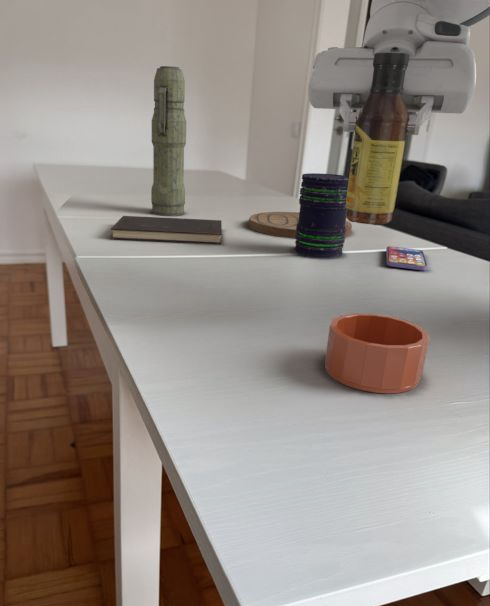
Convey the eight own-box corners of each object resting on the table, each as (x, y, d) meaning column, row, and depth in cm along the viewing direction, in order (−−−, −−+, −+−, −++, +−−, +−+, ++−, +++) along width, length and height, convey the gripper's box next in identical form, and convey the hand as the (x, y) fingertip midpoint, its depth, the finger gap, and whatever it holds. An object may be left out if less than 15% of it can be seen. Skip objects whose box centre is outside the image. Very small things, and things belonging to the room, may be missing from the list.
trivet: (339, 221, 147) (340, 214, 146) (361, 241, 124) (362, 233, 123) (246, 217, 147) (247, 209, 146) (250, 236, 124) (251, 227, 123)
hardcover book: (221, 244, 115) (221, 233, 114) (111, 239, 114) (110, 228, 114) (220, 229, 129) (221, 219, 128) (123, 225, 129) (123, 215, 128)
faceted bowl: (373, 348, 66) (380, 308, 64) (440, 383, 58) (450, 339, 56) (306, 361, 61) (311, 319, 59) (368, 401, 53) (376, 354, 51)
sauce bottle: (349, 215, 77) (371, 55, 69) (395, 221, 74) (423, 55, 66) (337, 222, 71) (359, 49, 63) (386, 228, 69) (416, 49, 61)
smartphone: (422, 254, 114) (427, 271, 101) (385, 250, 116) (385, 266, 103) (423, 250, 114) (428, 267, 100) (386, 245, 116) (386, 261, 102)
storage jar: (287, 254, 109) (294, 175, 103) (301, 245, 117) (309, 172, 112) (336, 261, 105) (347, 180, 100) (347, 251, 114) (358, 176, 108)
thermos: (188, 210, 152) (191, 69, 139) (179, 217, 142) (182, 65, 128) (157, 208, 154) (157, 68, 140) (146, 215, 143) (145, 64, 129)
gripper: (316, 27, 73) (296, 106, 68) (484, 26, 67) (474, 113, 62) (317, 68, 78) (299, 143, 73) (472, 70, 73) (462, 152, 68)
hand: (381, 129), depth 68 cm, fingers closed on sauce bottle, 6 cm apart
